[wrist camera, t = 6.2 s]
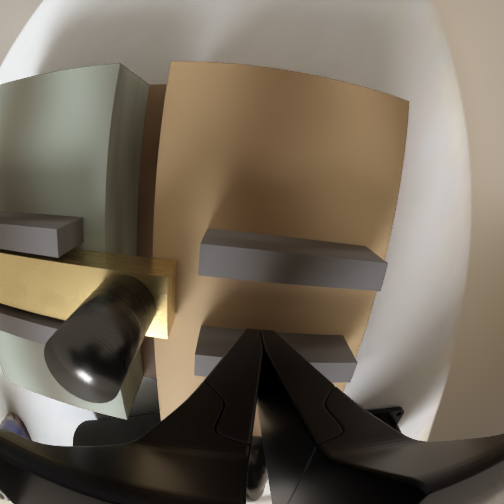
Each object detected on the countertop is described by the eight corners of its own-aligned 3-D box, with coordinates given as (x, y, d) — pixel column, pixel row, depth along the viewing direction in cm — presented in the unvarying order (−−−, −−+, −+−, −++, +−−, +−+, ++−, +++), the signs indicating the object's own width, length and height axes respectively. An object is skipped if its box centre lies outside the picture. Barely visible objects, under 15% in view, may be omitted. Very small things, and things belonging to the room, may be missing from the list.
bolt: (177, 260, 11) (129, 343, 6) (175, 317, 12) (140, 416, 7) (-12, 237, 10) (-89, 277, 5) (-5, 283, 11) (-73, 332, 6)
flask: (5, 408, 21) (-36, 473, 11) (26, 420, 21) (-14, 490, 11) (20, 448, 23) (-9, 504, 13) (38, 458, 24) (11, 517, 14)
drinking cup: (106, 502, 16) (362, 499, 13) (45, 453, 14) (357, 450, 11) (129, 440, 23) (345, 417, 20) (84, 386, 21) (332, 349, 18)
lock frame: (362, 114, 14) (437, 94, 8) (309, 381, 19) (331, 461, 13) (26, 100, 13) (-53, 90, 6) (39, 341, 18) (-8, 398, 11)
